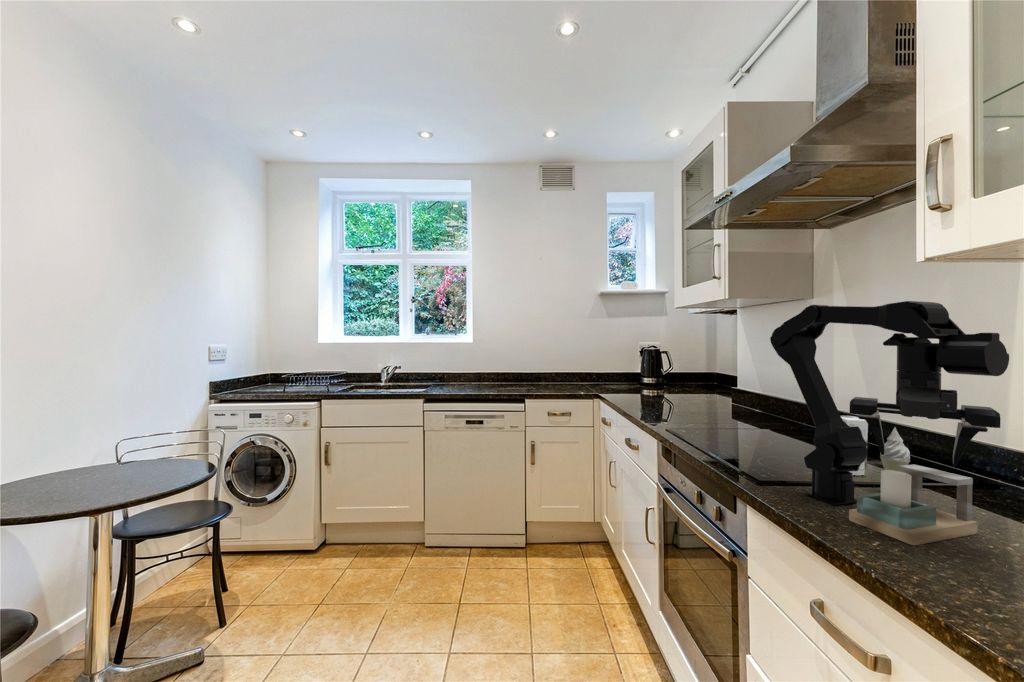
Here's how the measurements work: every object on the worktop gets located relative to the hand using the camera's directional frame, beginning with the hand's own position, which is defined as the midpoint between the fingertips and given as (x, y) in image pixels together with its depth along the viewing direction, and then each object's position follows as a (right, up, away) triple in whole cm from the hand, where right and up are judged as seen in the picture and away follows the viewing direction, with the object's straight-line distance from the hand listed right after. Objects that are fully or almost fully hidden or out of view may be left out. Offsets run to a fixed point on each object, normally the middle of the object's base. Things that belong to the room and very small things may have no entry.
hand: (917, 459), depth 75 cm
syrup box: (+13, -13, +33) cm, 38 cm away
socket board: (0, -13, +1) cm, 13 cm away
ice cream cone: (+12, -13, +17) cm, 25 cm away
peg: (-4, -11, 0) cm, 11 cm away
